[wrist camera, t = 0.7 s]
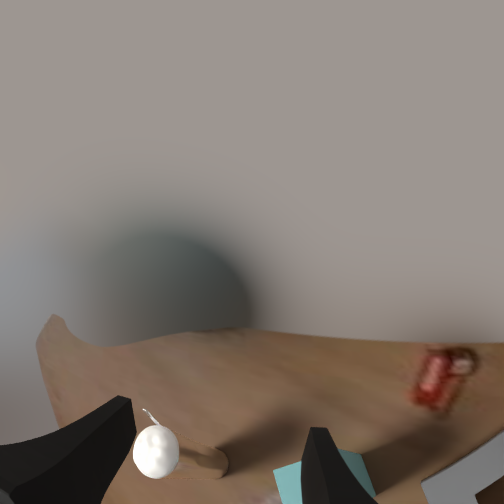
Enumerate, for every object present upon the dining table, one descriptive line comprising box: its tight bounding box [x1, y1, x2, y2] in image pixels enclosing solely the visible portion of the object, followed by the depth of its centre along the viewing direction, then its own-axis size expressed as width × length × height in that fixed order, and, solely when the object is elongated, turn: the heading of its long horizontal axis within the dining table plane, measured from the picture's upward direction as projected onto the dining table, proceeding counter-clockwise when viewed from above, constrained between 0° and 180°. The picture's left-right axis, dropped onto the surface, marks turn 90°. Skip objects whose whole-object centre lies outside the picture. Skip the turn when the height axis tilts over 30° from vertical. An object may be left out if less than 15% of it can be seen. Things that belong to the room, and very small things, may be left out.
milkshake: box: [133, 409, 229, 479], centre depth 22 cm, size 4×5×10 cm
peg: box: [273, 449, 376, 504], centre depth 16 cm, size 4×4×8 cm
